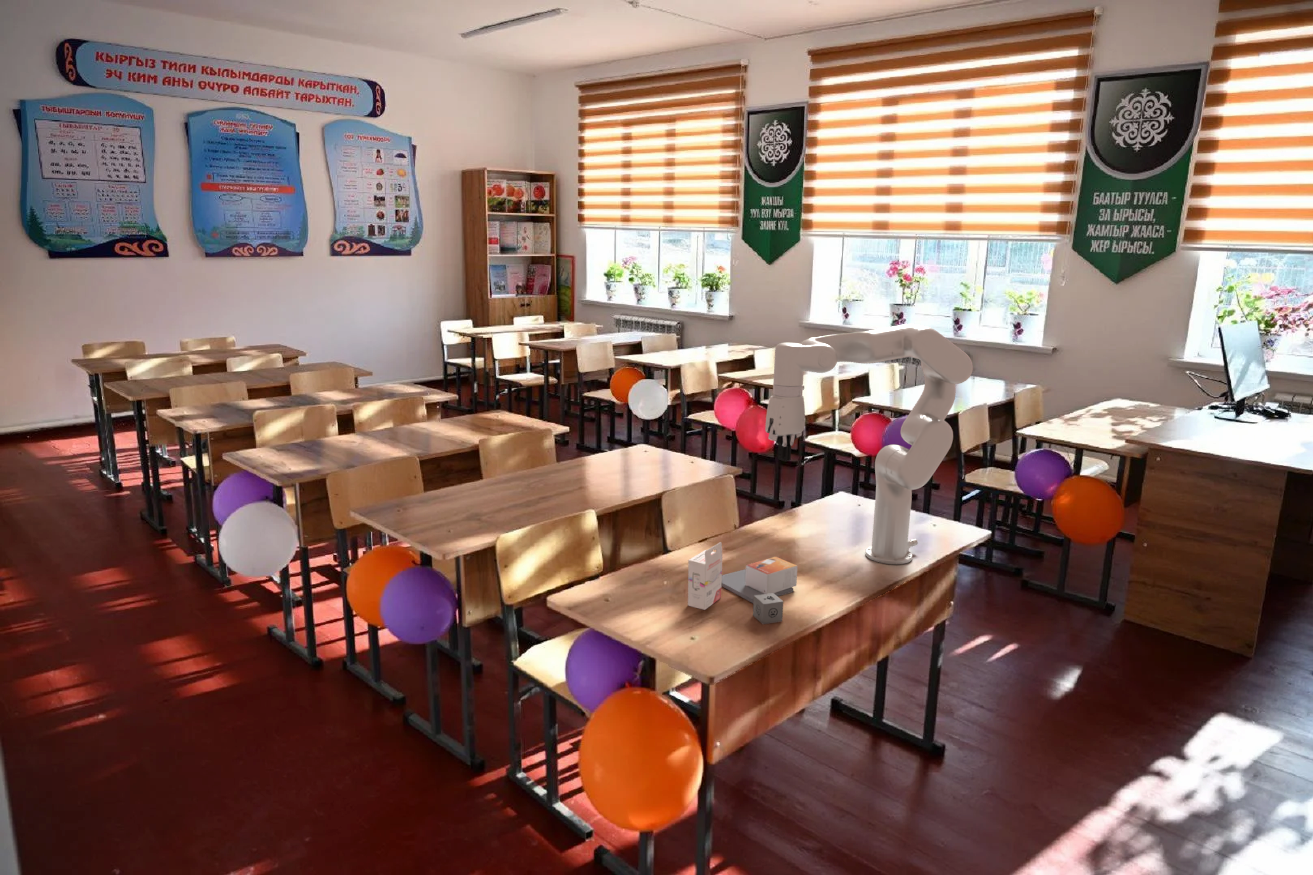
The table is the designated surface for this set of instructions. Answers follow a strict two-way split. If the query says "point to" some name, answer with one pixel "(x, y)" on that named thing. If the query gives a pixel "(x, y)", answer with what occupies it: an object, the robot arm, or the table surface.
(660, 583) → the table surface
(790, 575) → the small box
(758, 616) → the dice cube
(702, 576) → the ink cartridge box
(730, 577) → the mat
